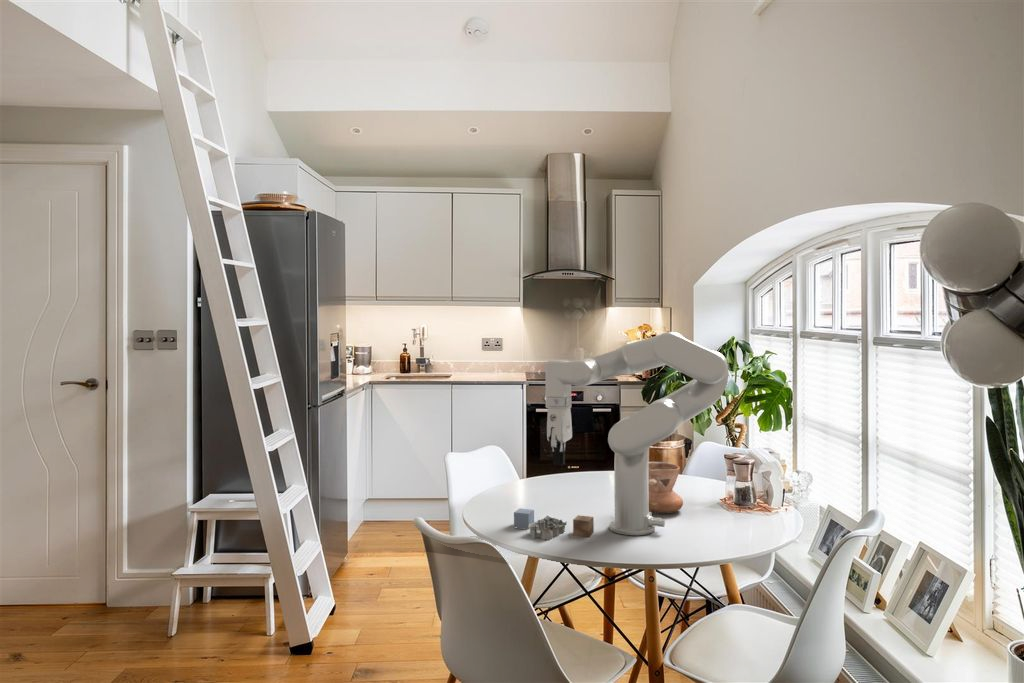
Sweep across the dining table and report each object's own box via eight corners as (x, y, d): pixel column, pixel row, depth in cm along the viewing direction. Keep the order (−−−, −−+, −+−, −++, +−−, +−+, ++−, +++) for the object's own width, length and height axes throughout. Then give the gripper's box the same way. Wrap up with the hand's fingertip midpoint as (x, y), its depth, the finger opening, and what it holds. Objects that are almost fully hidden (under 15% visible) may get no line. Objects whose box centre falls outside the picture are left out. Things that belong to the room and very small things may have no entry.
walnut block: (593, 533, 178) (593, 516, 178) (589, 537, 173) (589, 521, 173) (578, 531, 179) (577, 515, 179) (573, 536, 175) (573, 519, 175)
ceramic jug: (675, 521, 188) (676, 472, 188) (627, 514, 194) (628, 467, 194) (689, 507, 203) (689, 462, 203) (644, 501, 210) (644, 458, 210)
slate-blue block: (534, 525, 185) (534, 509, 185) (528, 529, 181) (528, 513, 181) (519, 523, 187) (519, 508, 187) (514, 528, 183) (513, 512, 183)
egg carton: (547, 542, 171) (547, 527, 171) (525, 537, 175) (525, 522, 175) (569, 532, 179) (569, 517, 179) (547, 527, 184) (547, 513, 184)
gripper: (562, 405, 179) (563, 471, 179) (578, 400, 192) (578, 460, 193) (537, 404, 181) (538, 469, 182) (554, 399, 195) (555, 459, 196)
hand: (559, 464), depth 187 cm, fingers closed
